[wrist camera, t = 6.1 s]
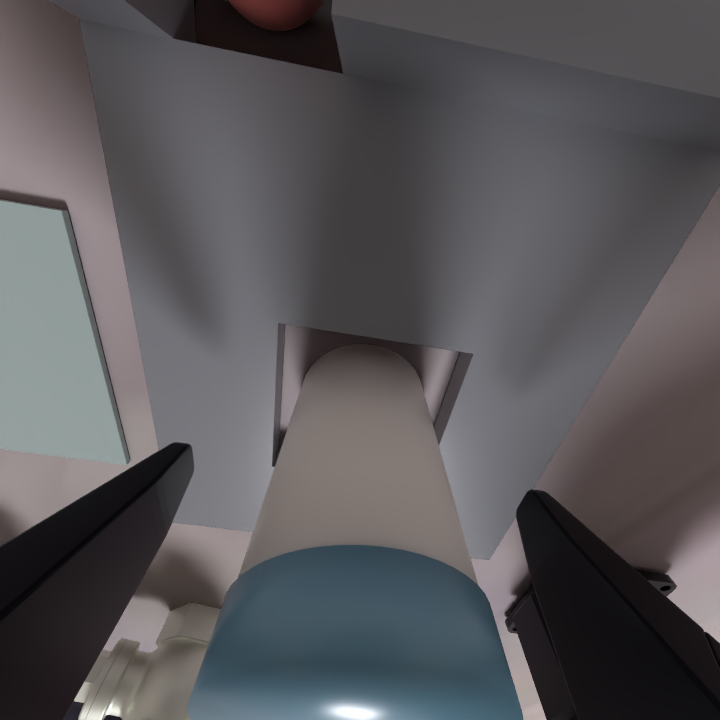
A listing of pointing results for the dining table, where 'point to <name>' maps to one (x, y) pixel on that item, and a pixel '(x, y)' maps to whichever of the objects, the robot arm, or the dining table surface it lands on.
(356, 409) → the cartridge
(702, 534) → the dining table surface
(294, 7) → the plunger button
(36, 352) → the mat
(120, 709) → the valve
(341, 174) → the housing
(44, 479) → the dining table surface
